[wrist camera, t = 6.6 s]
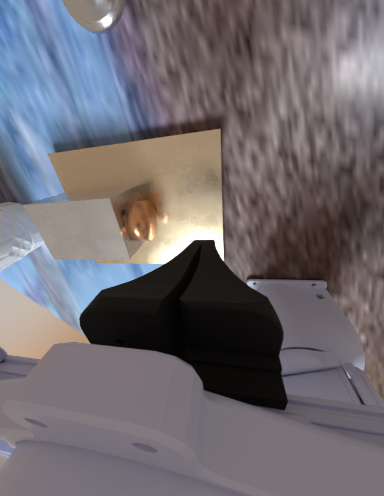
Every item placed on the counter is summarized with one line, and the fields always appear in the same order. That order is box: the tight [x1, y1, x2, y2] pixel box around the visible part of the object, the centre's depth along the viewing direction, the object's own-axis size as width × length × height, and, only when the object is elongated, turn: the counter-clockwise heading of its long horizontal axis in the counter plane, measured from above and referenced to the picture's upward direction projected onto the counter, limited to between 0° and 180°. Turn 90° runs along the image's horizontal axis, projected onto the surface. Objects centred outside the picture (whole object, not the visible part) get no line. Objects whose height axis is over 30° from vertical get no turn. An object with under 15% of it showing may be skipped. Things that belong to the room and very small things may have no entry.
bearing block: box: [23, 129, 224, 263], centre depth 18 cm, size 18×14×6 cm
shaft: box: [121, 200, 157, 241], centre depth 18 cm, size 11×4×4 cm, turn 96°
